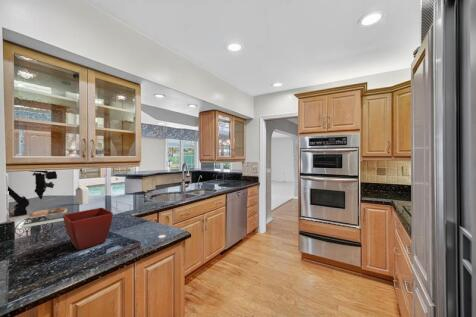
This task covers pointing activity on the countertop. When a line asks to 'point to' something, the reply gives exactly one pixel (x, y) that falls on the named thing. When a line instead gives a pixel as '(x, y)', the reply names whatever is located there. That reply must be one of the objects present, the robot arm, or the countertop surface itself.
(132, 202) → the countertop surface
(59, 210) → the walnut tile
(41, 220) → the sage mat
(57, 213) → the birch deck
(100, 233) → the plant pot
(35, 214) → the terracotta tile
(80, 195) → the milk carton
